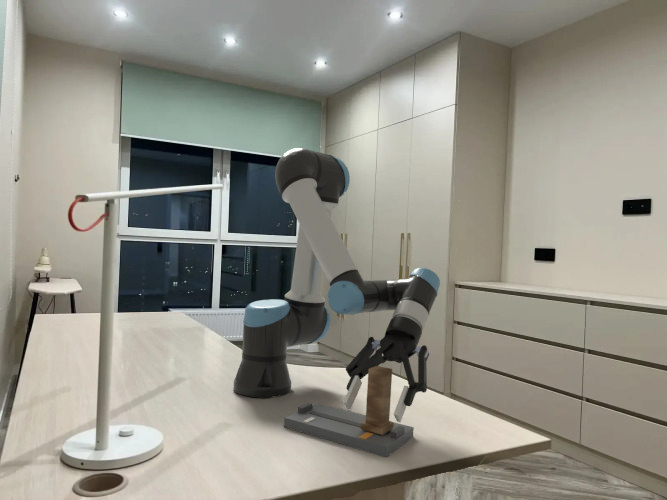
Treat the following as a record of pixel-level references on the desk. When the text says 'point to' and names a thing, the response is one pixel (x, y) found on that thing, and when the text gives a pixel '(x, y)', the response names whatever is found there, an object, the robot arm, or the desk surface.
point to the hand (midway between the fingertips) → (371, 412)
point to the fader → (378, 401)
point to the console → (346, 428)
